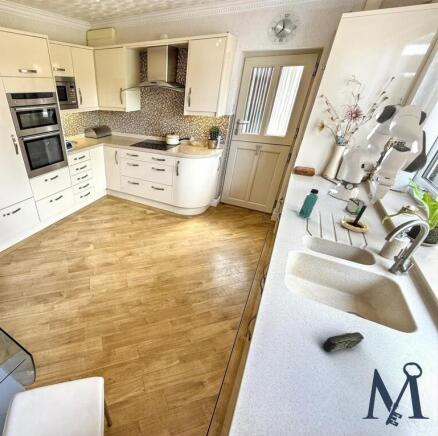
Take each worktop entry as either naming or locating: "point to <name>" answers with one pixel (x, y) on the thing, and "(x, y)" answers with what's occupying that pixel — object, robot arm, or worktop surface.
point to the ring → (364, 229)
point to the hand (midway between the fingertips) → (370, 200)
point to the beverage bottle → (309, 203)
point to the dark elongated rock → (342, 341)
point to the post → (357, 218)
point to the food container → (354, 206)
